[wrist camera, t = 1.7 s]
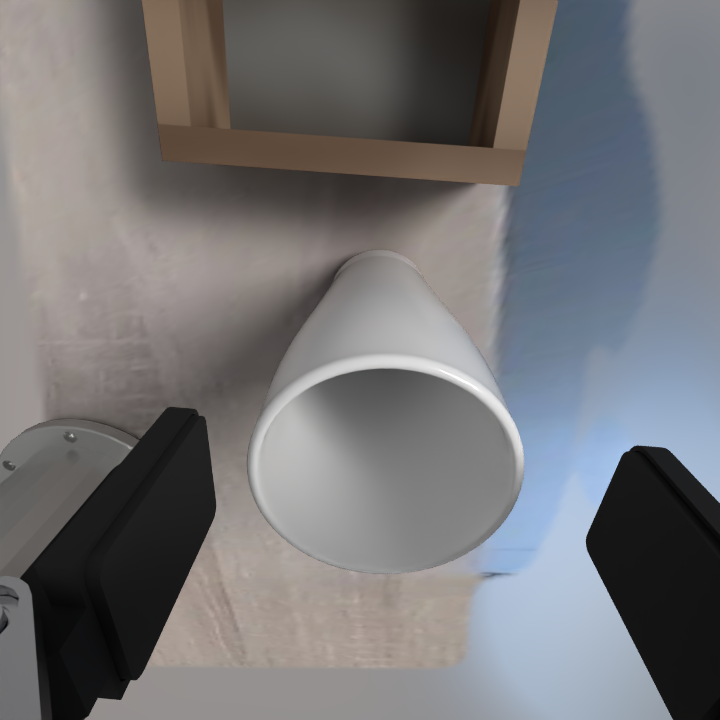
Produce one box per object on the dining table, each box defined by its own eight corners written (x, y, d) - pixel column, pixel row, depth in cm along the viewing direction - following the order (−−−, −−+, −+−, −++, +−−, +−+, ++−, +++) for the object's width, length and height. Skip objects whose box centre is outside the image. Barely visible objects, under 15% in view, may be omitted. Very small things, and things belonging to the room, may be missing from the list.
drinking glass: (410, 365, 25) (452, 604, 12) (303, 328, 24) (215, 539, 11) (460, 259, 22) (590, 414, 9) (340, 213, 22) (284, 307, 8)
